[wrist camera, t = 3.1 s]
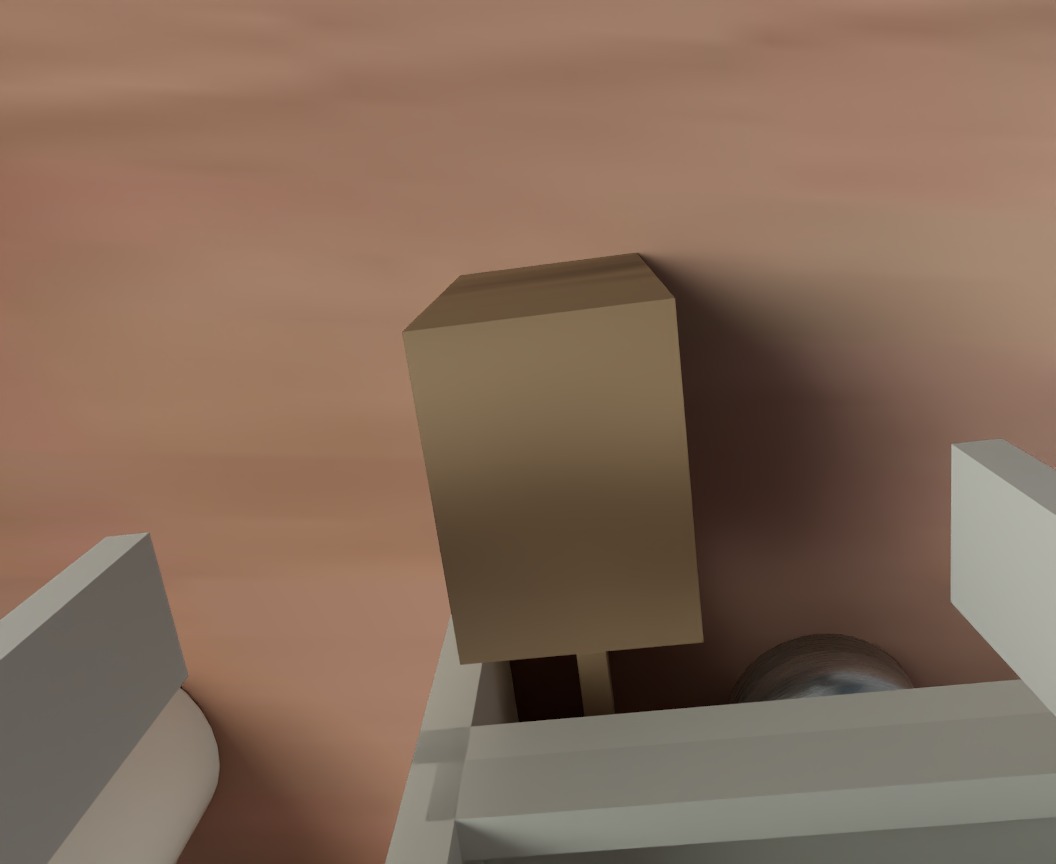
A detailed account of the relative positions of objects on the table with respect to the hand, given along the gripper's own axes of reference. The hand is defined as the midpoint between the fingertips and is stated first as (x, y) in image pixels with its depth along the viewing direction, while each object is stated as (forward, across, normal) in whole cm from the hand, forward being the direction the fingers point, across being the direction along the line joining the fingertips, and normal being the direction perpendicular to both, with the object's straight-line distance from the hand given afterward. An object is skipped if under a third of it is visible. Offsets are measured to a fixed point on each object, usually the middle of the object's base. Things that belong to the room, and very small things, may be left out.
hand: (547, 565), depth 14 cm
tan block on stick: (+12, 0, -6) cm, 13 cm away
